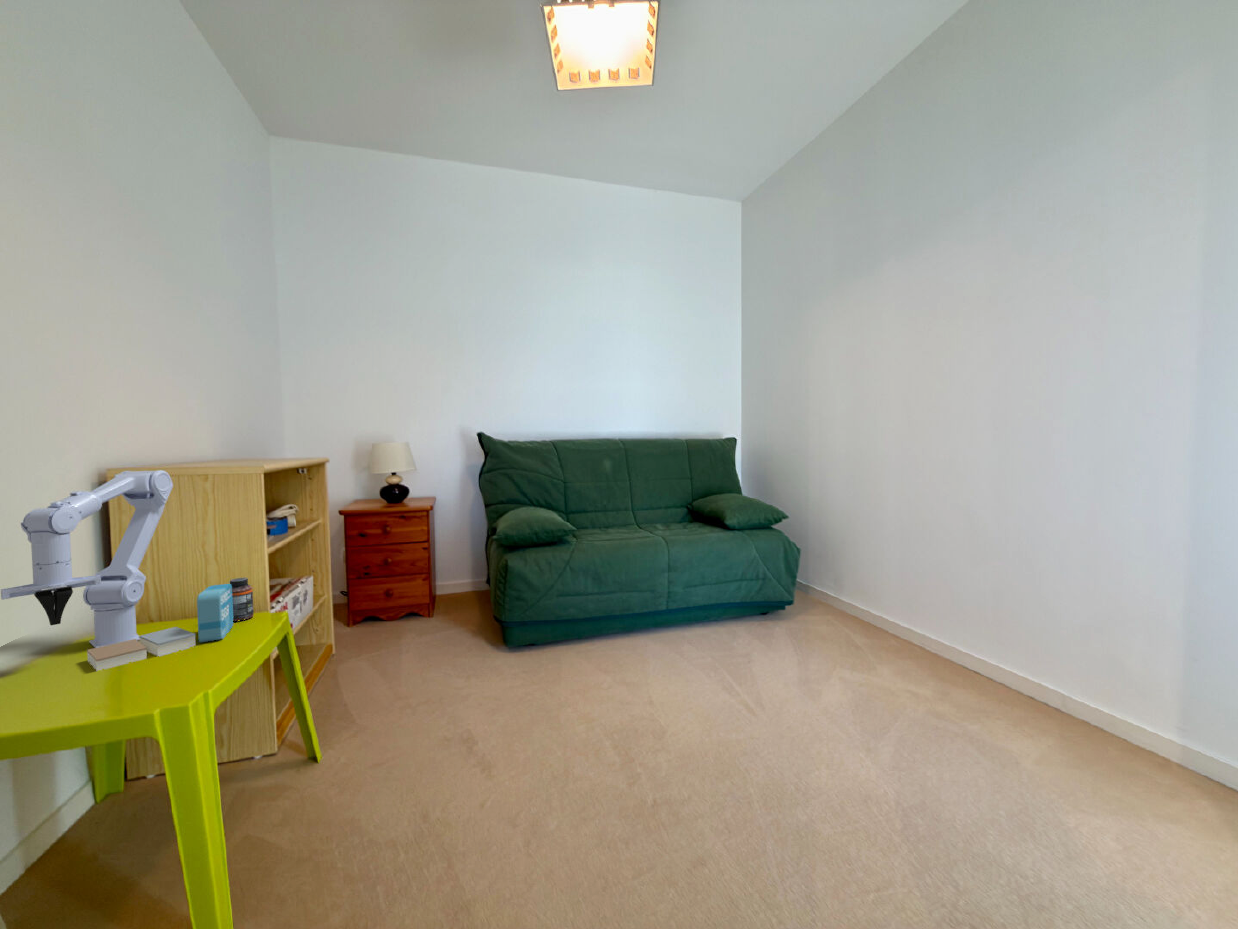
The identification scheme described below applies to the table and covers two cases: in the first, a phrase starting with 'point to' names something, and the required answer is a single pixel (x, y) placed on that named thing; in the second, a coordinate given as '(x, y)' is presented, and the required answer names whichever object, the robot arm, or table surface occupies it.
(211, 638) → the blue box
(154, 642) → the book grey
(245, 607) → the supplement bottle
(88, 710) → the table surface
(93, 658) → the book walnut
